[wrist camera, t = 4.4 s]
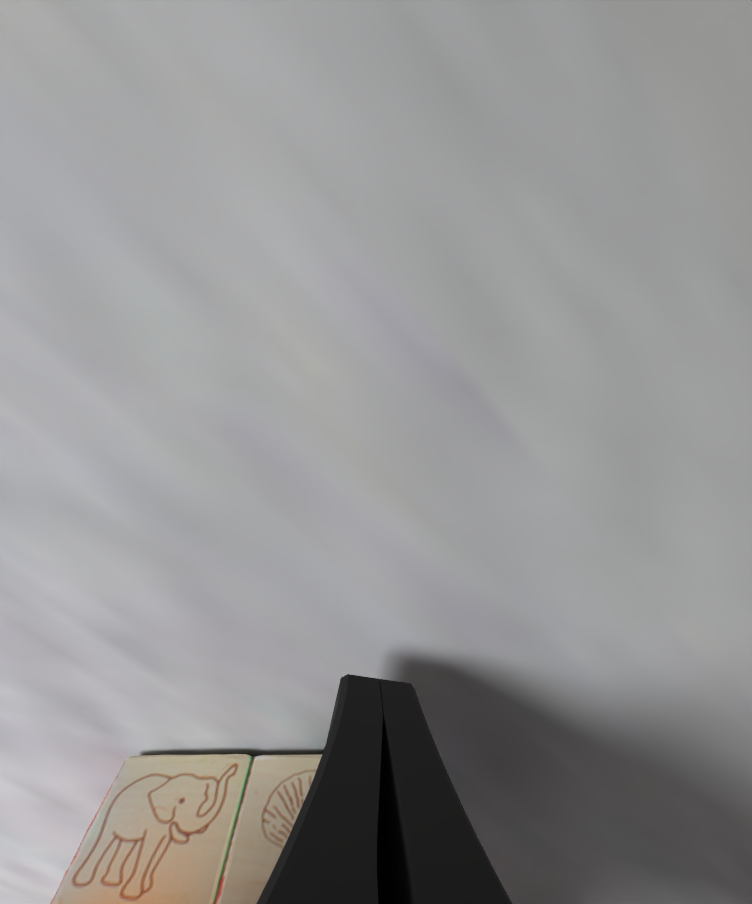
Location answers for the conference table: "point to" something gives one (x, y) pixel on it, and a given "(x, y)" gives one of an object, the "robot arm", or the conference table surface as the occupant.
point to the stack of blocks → (189, 830)
